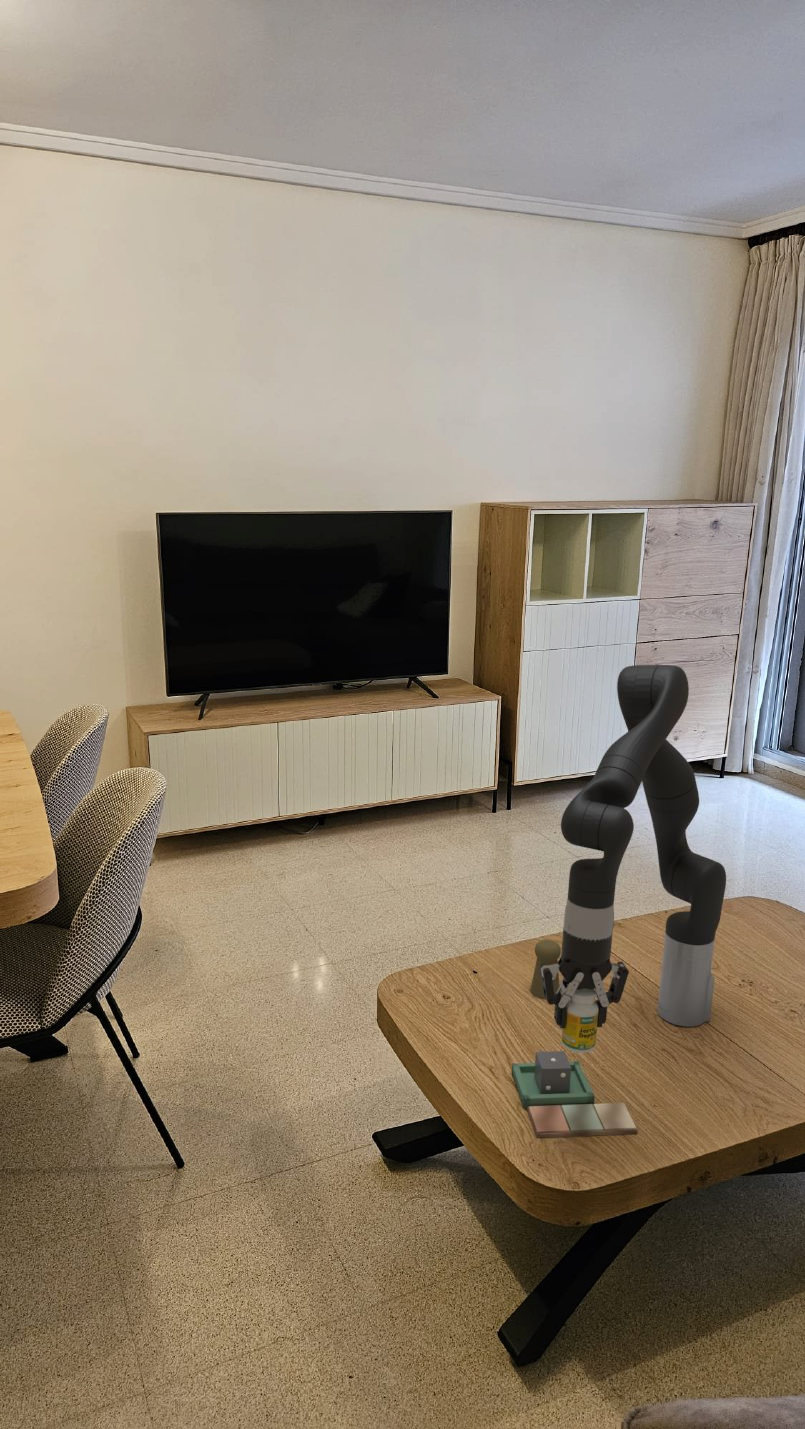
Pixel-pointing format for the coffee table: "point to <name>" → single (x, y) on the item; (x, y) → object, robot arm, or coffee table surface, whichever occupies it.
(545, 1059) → the die
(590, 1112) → the track
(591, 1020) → the supplement bottle
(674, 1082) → the coffee table surface
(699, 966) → the robot arm
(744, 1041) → the coffee table surface
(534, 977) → the olive game pawn
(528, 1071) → the tray
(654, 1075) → the coffee table surface
